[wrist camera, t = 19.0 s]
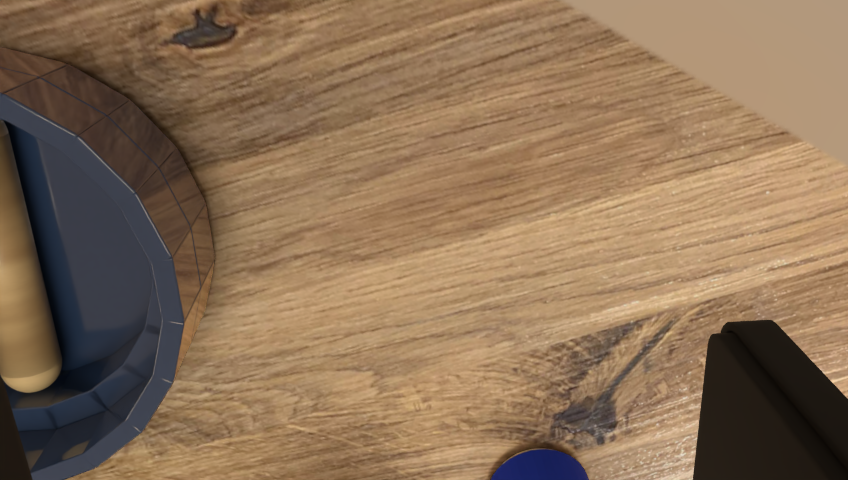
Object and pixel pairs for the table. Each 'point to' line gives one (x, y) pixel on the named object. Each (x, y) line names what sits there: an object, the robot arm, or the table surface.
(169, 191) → the bowl
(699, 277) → the table surface
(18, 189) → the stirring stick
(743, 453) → the robot arm
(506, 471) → the beverage can
